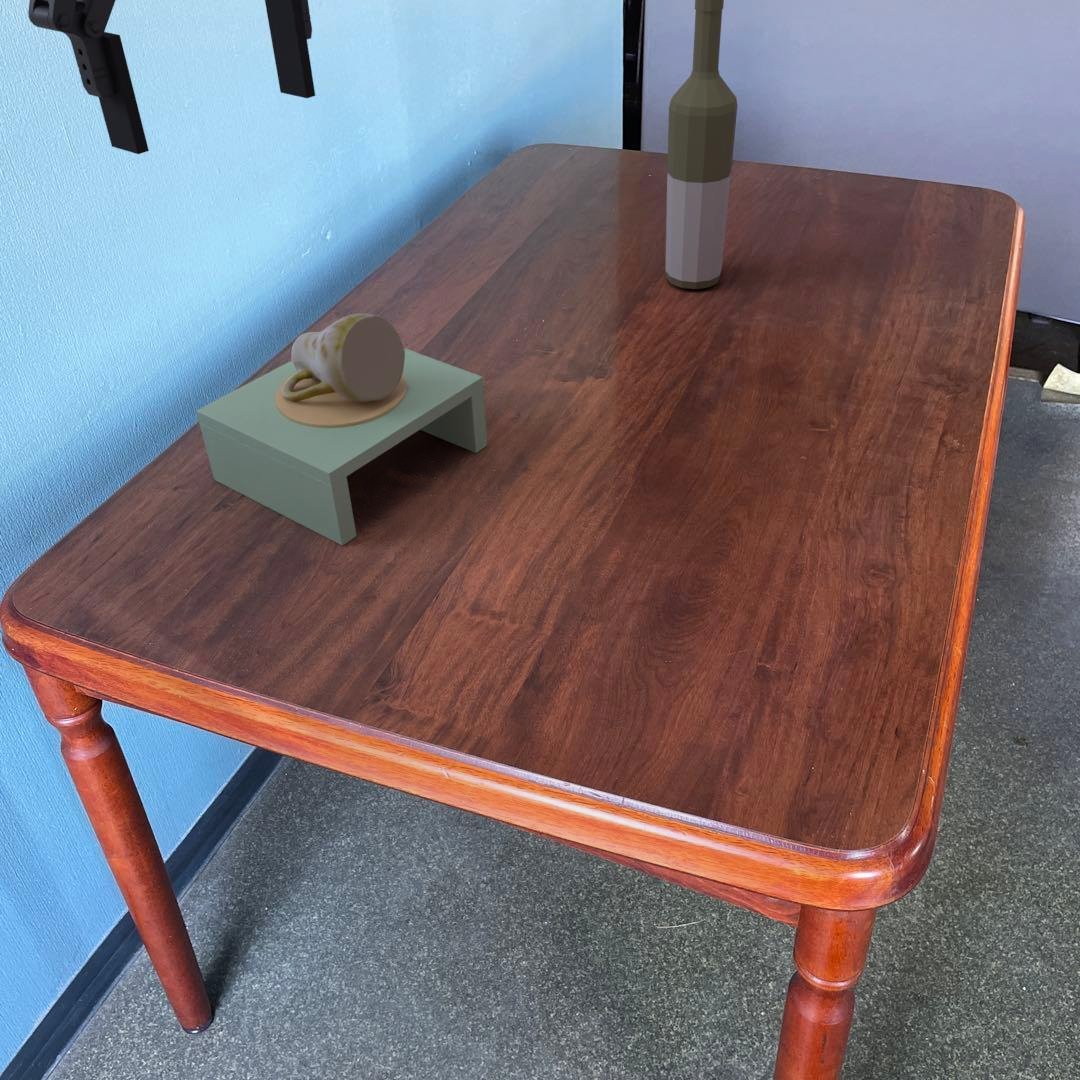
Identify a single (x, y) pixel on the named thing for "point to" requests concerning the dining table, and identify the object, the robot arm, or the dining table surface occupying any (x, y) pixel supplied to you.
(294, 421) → the shelf
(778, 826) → the dining table surface
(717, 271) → the bottle
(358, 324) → the mug
